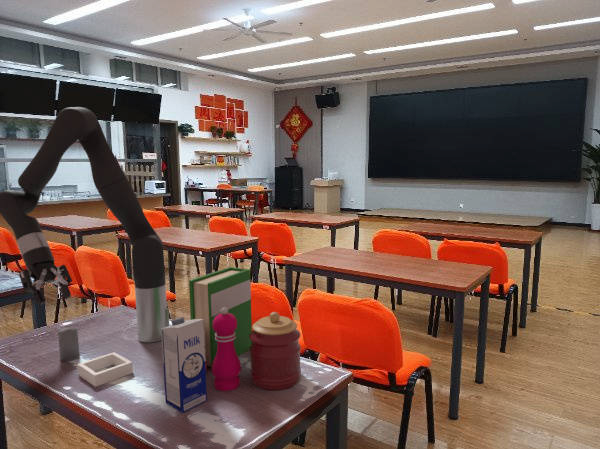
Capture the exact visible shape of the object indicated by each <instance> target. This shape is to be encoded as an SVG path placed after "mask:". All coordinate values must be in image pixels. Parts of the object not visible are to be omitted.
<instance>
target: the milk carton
mask: <svg viewBox="0 0 600 449" xmlns="http://www.w3.org/2000/svg"><path fill="white" fill-rule="evenodd" d="M203 320H204V319H193V320H191V319H188V320H186V319H184V317H179V318H175V319H171V321H170V322H171V325H169V326H168V327H165V328H161V332H162V340H161V347H162V348H161V350H162V362H163V363H162V364H163V378H164V380H163V381H164V382H163V383H164V397H165V399H164V400H165V401H164V402H165V404H166V405H168V406H170V407H171V408H174V409H175V410H176V411H179V412H180V413H182V414H184V413H185V412H188V411H189V410H191V409H193V408H195V407H197V406H199V405H201V404H203V403H205V402H208V398H207V396H208V395H207V394H208V393H207V371H206V369H205V346H204V324H203Z"/></svg>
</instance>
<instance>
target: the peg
mask: <svg viewBox="0 0 600 449" xmlns="http://www.w3.org/2000/svg"><path fill="white" fill-rule="evenodd" d="M57 338H58V349H59V358H60V359H59V360H60V361H64V362H66V361H73V360H76V359H77V358H80V345H79V343H80V342H79V332H78V328H77V327H74V326H73V327H65V328H61V329H59V330H58V331H57Z"/></svg>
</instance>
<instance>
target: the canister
mask: <svg viewBox="0 0 600 449" xmlns="http://www.w3.org/2000/svg"><path fill="white" fill-rule="evenodd" d="M297 327H298V324H297V322H295V321H294V320H292V319H291V318H289V317H287V316H283V315H280V314H279V313H278V312H276V311H272V312H270V314H269V316H263V317H262V318H260V319H258V320H257V321H256V322H254V323H252V332H251V333H250V335H249V338H250V340H251V346H250V349H249V351H250V352H249V354H250V370H249V375H250V379H251V383H252V384H253V385H254V386H255V387H257V388H259V389H263V390H269V391H279V390H285V389H289V388H291V387H294V386H295V385H297V384H298V383H299V381H300V379H301V375H302V366H301V349H302V346H301V344H300V342H299V339H300V338H301V331H299V329H297Z"/></svg>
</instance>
